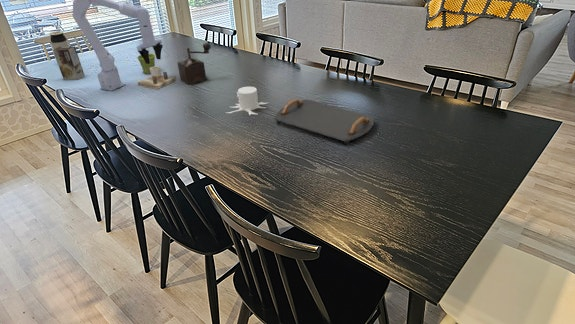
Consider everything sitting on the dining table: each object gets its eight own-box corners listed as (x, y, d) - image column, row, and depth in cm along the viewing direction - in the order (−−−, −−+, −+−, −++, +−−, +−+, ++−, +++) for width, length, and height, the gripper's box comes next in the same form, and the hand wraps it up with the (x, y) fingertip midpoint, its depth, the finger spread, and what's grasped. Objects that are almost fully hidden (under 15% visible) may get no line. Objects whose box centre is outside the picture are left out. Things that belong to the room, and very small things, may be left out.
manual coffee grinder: (189, 85, 190) (182, 49, 181) (179, 79, 198) (173, 45, 188) (216, 78, 198) (211, 43, 189) (206, 73, 206) (201, 39, 196)
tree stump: (247, 95, 178) (246, 78, 174) (279, 104, 168) (278, 87, 163) (215, 110, 165) (213, 92, 161) (248, 121, 155) (246, 103, 150)
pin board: (156, 89, 187) (154, 79, 185) (138, 85, 193) (135, 75, 190) (175, 80, 197) (173, 71, 194) (156, 77, 202) (154, 68, 200)
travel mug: (69, 65, 226) (59, 34, 216) (56, 65, 226) (45, 34, 216) (76, 60, 233) (66, 30, 223) (63, 61, 233) (53, 31, 223)
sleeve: (156, 79, 195) (154, 70, 192) (149, 78, 197) (147, 68, 195) (163, 76, 199) (161, 67, 196) (157, 75, 201) (154, 65, 198)
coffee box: (85, 75, 209) (75, 46, 200) (78, 79, 203) (68, 49, 195) (69, 75, 210) (59, 46, 201) (62, 79, 204) (51, 49, 196)
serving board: (267, 123, 153) (266, 109, 150) (300, 103, 169) (300, 90, 165) (352, 150, 133) (353, 134, 130) (381, 125, 148) (383, 110, 145)
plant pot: (155, 74, 206) (151, 58, 202) (138, 74, 207) (134, 59, 202) (160, 68, 214) (157, 53, 210) (144, 69, 215) (140, 54, 210)
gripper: (141, 38, 179) (148, 66, 187) (163, 31, 190) (169, 58, 197) (131, 37, 182) (138, 64, 190) (153, 30, 193) (159, 56, 200)
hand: (153, 61), depth 194 cm, fingers open, 7 cm apart
